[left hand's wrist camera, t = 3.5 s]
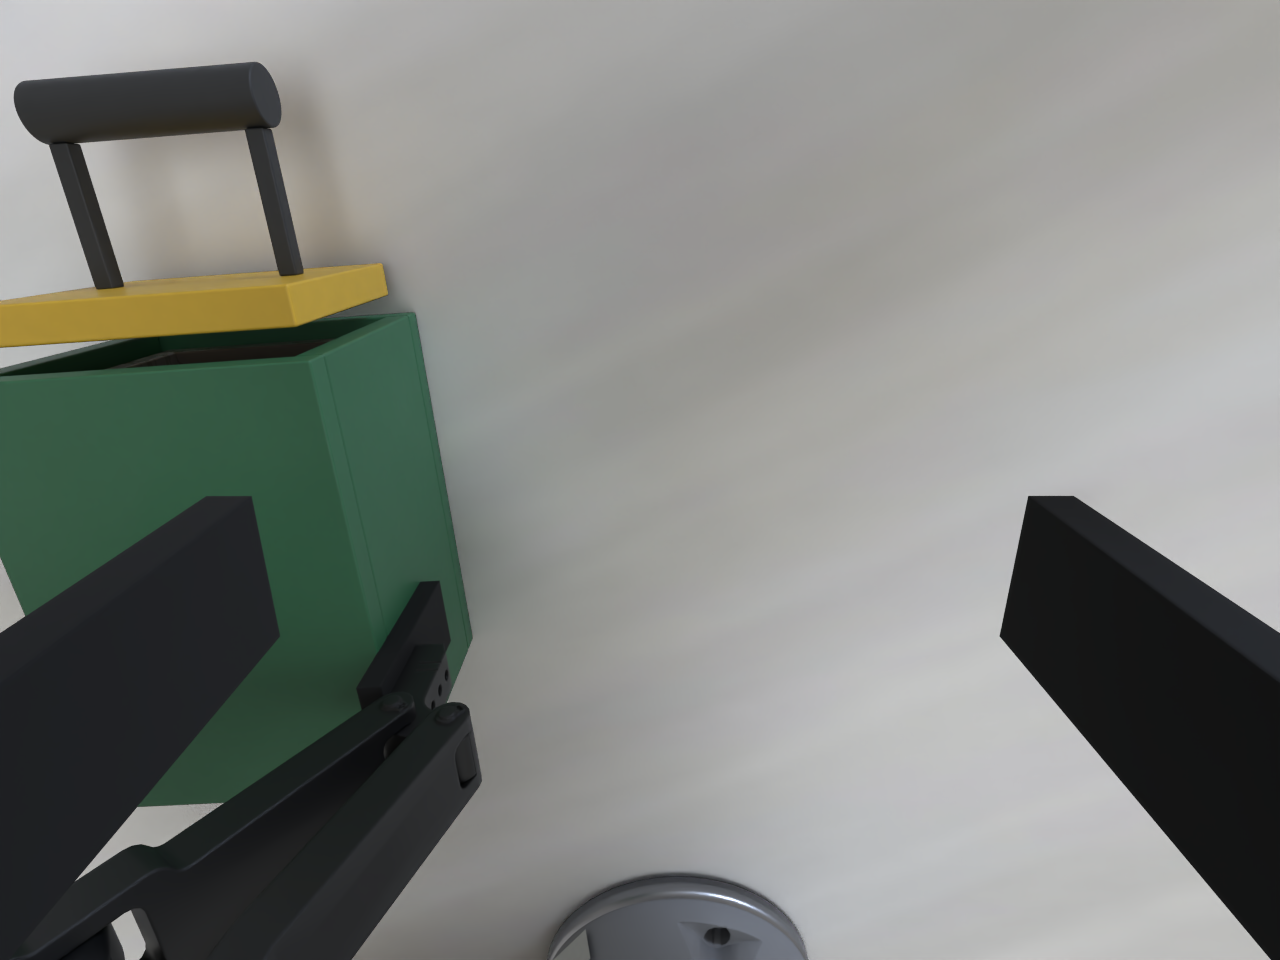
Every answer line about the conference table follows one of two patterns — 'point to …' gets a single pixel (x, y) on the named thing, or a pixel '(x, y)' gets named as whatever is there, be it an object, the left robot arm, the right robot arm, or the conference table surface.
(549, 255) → the conference table surface
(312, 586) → the cabinet
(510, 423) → the conference table surface
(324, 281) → the drawer
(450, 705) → the right robot arm
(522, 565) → the conference table surface
